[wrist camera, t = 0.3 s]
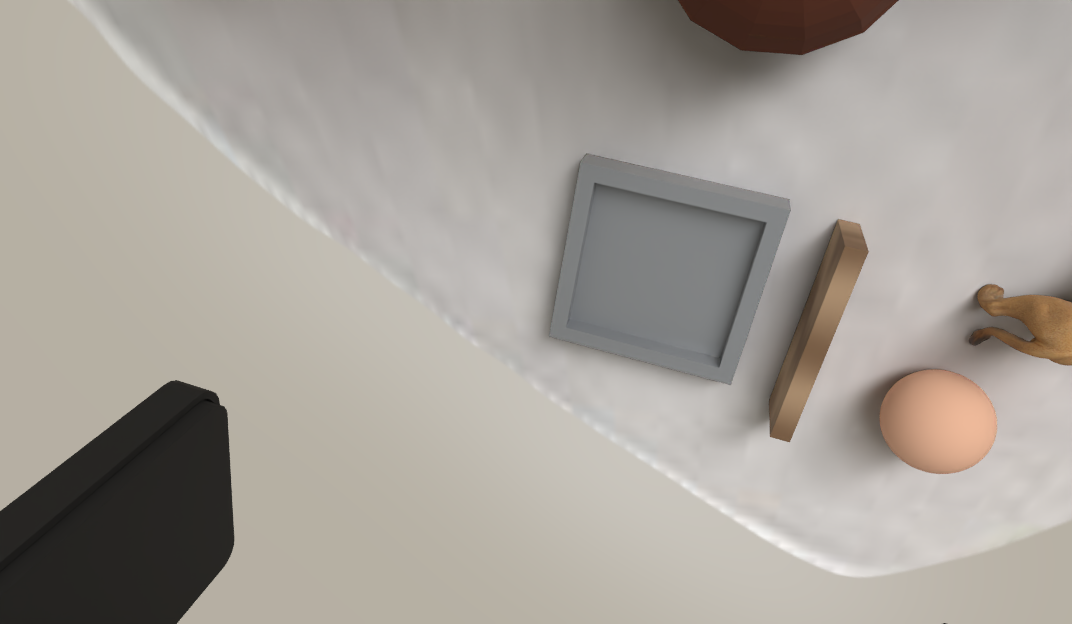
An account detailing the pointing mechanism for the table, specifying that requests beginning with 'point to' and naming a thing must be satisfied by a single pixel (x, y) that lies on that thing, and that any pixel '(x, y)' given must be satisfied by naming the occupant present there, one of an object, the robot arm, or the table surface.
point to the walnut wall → (816, 327)
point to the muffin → (785, 22)
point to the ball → (938, 421)
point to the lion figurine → (1030, 323)
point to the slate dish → (665, 266)
